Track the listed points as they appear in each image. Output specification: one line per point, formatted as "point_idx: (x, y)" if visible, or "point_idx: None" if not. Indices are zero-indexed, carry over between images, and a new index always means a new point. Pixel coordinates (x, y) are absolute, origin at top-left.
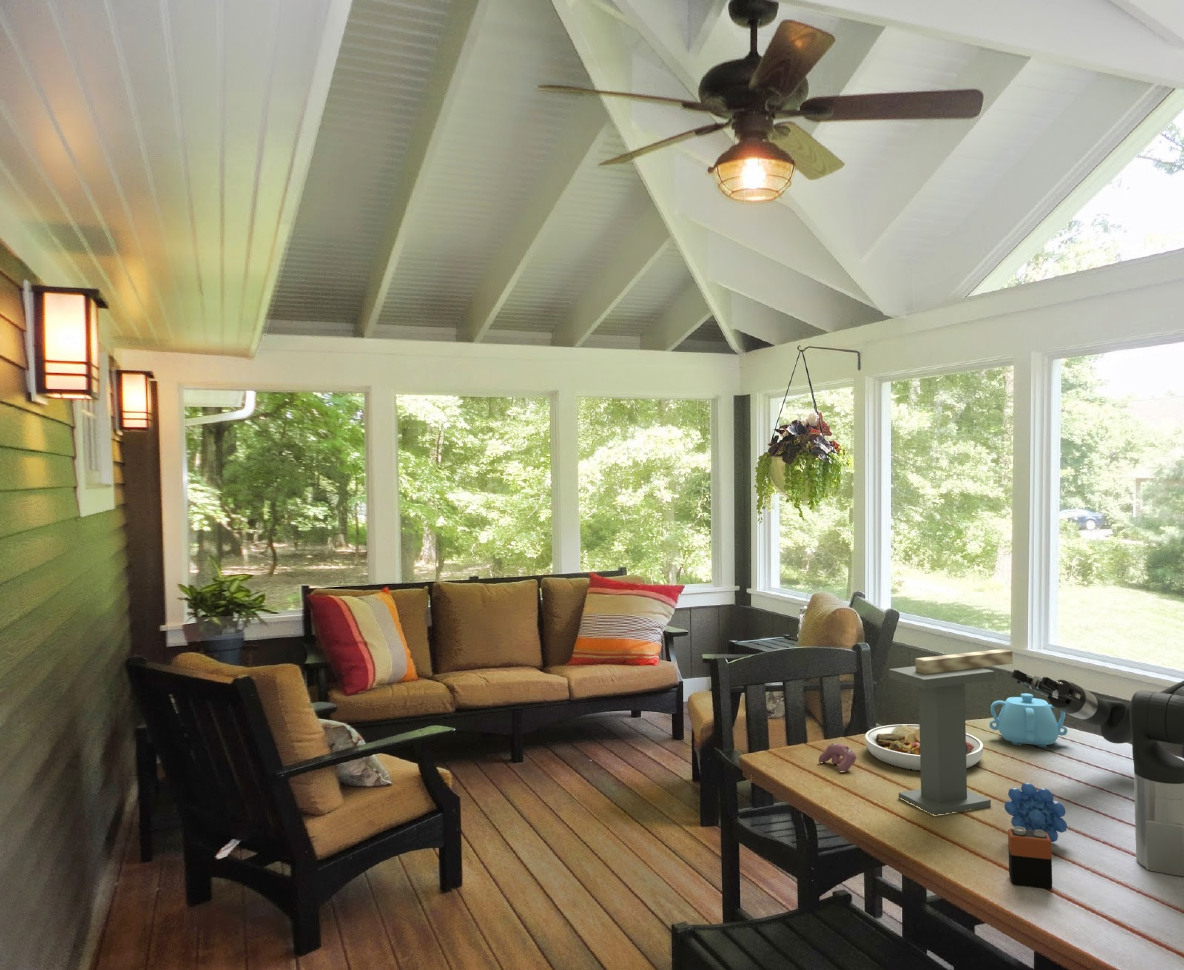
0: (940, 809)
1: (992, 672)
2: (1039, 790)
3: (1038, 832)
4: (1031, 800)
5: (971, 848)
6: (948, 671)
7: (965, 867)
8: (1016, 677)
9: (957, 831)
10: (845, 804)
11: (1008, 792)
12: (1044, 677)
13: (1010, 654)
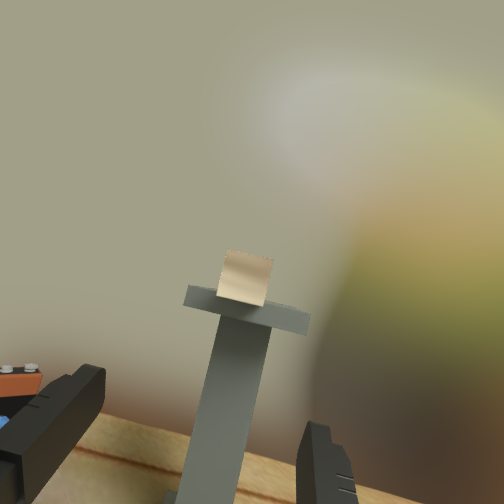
0: (164, 498)
1: (189, 287)
2: (7, 418)
3: (8, 370)
4: None
5: (82, 453)
6: None
7: None
8: (297, 470)
9: (115, 480)
10: (261, 472)
11: None
12: (95, 367)
13: (226, 262)
